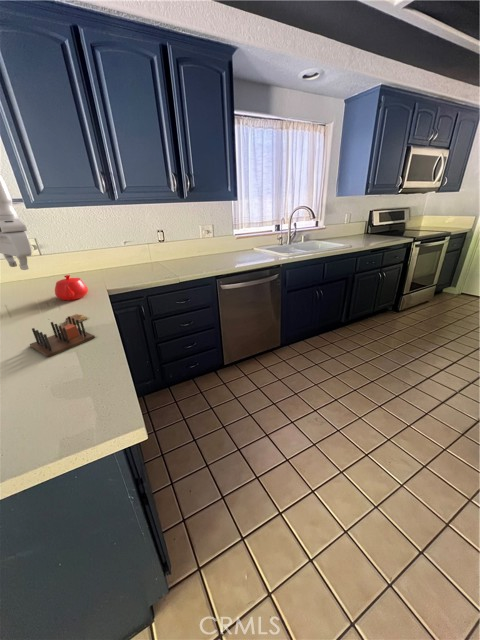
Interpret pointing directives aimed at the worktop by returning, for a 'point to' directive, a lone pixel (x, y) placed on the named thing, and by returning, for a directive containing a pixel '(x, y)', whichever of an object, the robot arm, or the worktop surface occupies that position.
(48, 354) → the dish rack
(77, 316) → the shard
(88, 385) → the worktop surface
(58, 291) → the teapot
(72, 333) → the block
